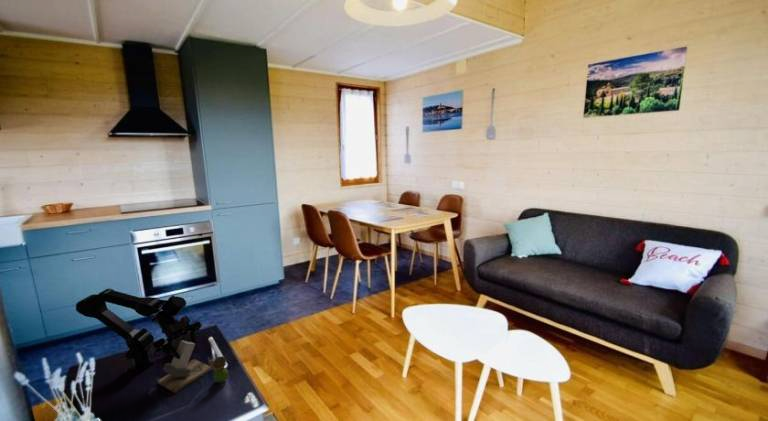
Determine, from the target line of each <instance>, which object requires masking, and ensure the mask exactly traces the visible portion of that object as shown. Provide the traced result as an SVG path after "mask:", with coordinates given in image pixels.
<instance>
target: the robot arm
mask: <svg viewBox="0 0 768 421" xmlns="http://www.w3.org/2000/svg"><path fill="white" fill-rule="evenodd" d="M107 303H108V304H112V305H115V306H116V305H117V306H121V307H123V308H126V309H131V310H134V311H135V313H136V314H138V315H140V316H142V317H145V318H149V317H152V318H151V320H150V321H151V323H156V322H157V324H158V326H159V327H160V329H161V333H162V334H164V336H165V337H166V338H163V337H162V338H160V339H157V340H155V339H154V338H155V337H154V335H153V334H152V332H150V331H148V330H147V328H146V327H145V328H144V327H143V328H141V329H137V328H135V327H133V326H132V325H130V324H129V323H128V322H126V321H125V320H124V319H122V318H121V317H120V316H118V315H117V314H116V313H114V312H113V311H112V310H110V309H109V308H108V306H107ZM186 306H187V301H186V299H185V298H183V297H182V296H175V295H174V294H173V295H171V296H170V297H169V298H168V299H167V300H166V299H160V298H158V297H153V296H145V297H144V296H143V297H142V296H141V297H140V296H136V295H132V294H128V293H126V292H125V293H124V292H122V291H117V290H114V289H112V288H106V289H104V290H102V291H100V292H99V293H97V294H96V293H95V294H90V295H89V296H86V297H85V298H82V299H81V300H79V301H77V302H76V304H75V311H76V312H77V313H78V314H79V315H80V314H81V315H82V316H84V317H86V318H93V319H96V320H98V321H99V322H100V323H101V324H103V325H105V326H106V327H107V328H108V329H110V330H112V332H114V333H115V334H117V335H118V336H119V337H121V339H124V341H125V343H126V347H127V348H128V349H129V350H127V351H126V353H125V354H124V356H125V357H126V359H127V360H132V365H130V369H132V370H134V371H136V372H141V371H142V370H144V369H146V368H148V367H149V366H150V367H151V365H154V363H155V362H154V361H153V360H151V359H150V354H149V352H150V353H151V355H155V354H157V353H159V352H160V353H161V354H162V353H165V354H167V355H170V356H171V357H173V358H174V357H175V358H177V359H180V356H179V354H178V353H177V352H176V351H177V349H175V348H173V344H172V343H173V342H174V340H176V339H178V338H180V337H182V336H184V335H185V336H186V340H188V341H191V342H193V343H195V346H194V349H193V351H196V350H197V348H198V347H197V343H196V342H195V335H196V333H199V331H200V330H201V328H202V326H203V324H202V322H201V321H195V322H192V323H190V322H191V320H190V318H189V316H188V315H183V316H181V317H180V319H181V320H180V319H178V318H175V316H177V315H178V314H179V313H180V312H181V311H182V310H183V309H184V308H185V307H186ZM187 323H189V324H190V325H189V327H188V329H186V330H184V331H183V329H184V328H185V327H186V326H187ZM187 336H188V337H187Z"/></svg>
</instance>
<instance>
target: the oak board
mask: <svg viewBox="0 0 768 421" xmlns="http://www.w3.org/2000/svg"><path fill="white" fill-rule="evenodd" d="M186 368H188V369H190V373H189V375H188V376H187V377H173V376H172V375H170V374H168V373H167V374H166V375H164V376H163V377H161V378H159V379H158V380H157V383H158V384H159V385H161V387H164V388H165V389H168V390H170V391H171V392H173V393H174V394H176V393H178V392H180V390H182V389H184V388H185V387H187V386H189V385H190V384H191V383H194V382H195V381H196V380H198V379H200V378H201V377H203V376H204V375H206V374H208V373H209V372H210V371H211V370H212V371H213V369H212V368H211V367H210V365H209V364H206V363H203V362H202V361H199V360H198V359H195V358H193V359H192V360H189V361H188V363H187V366H186Z"/></svg>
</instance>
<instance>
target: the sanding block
mask: <svg viewBox="0 0 768 421" xmlns="http://www.w3.org/2000/svg"><path fill="white" fill-rule="evenodd" d="M194 346H195V343H193V342H191V341H186V340H185V341H180V344H179V346H178V348H177V349H176V352H177V353H178V354H179V356H180V359H177V358H175V357H173V358H172V360H171V363H167V362H166V363H165V364H164V366H163V367H162V371H164V372H165V373H167V375H168V374H170V375H172V376H173V377H187V376H188V375H189V373H190V369H188V368H186V366H187V363H188V362H190V358H191V356H192V353H193V351H194Z"/></svg>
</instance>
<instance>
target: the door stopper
mask: <svg viewBox="0 0 768 421" xmlns="http://www.w3.org/2000/svg"><path fill="white" fill-rule="evenodd" d="M180 320H181V318H180V319H179V321H180ZM190 324H191V323H190V322H189V323H187V326H186V327H185V328H184V329H183V331H184V330H186V329H188V327H189V325H190ZM187 337H188V336H187V335H184V336H182V337H180V338H178V339H176V340H174V341H173V344H172V346H173V348H174V349H175V350H177V348H178V346H179V344H180V341H188V340H187V339H186V338H187ZM195 342H196V344H197V343H199V342H200V340H199V338H198V336H197V335H196V334H195Z"/></svg>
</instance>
